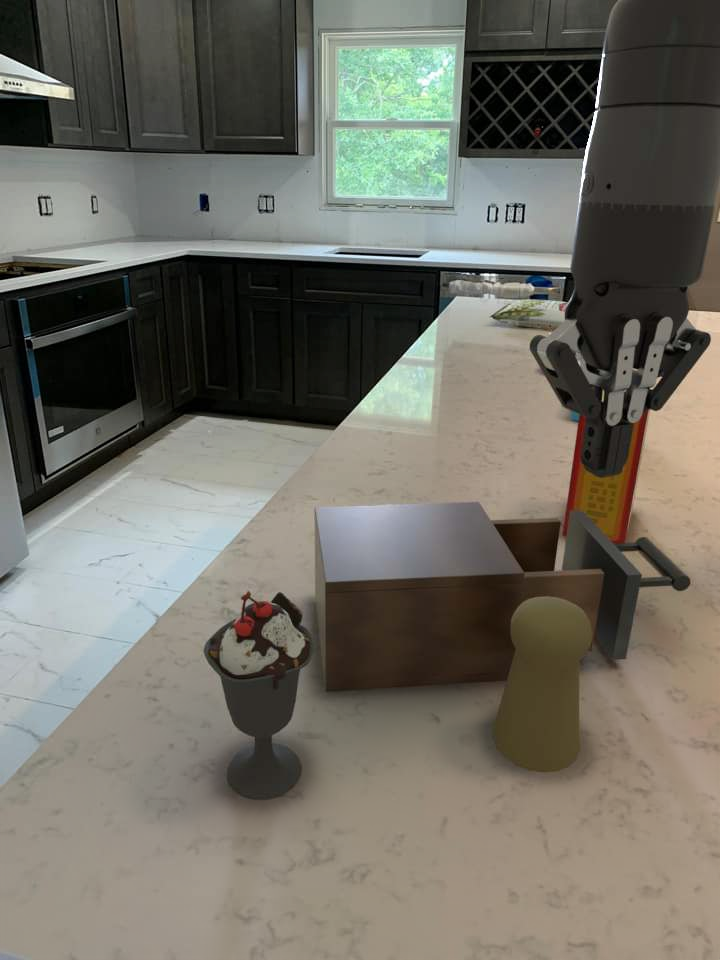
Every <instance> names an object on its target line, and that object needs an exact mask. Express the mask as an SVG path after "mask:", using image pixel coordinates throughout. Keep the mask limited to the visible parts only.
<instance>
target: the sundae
mask: <svg viewBox="0 0 720 960" xmlns="http://www.w3.org/2000/svg"><path fill="white" fill-rule="evenodd" d="M251 595H252V593H251V591H249V590H247V591H246V593H245V594H243V595H242V596H241V597H240V600H242V607H241V611H240V613H239V614H238V615H237V617H236V618H235V619H232V620H231V621H228V622H227V623H225V624H224V625H223V626H221V627H220V628H219V629H218V630H217V631H216V632H214V634H212V636H210V638H209V639H207V641H206V642H205V644H204V648H203V654H204V657H205V659H206V662H207V663H208V664H209V666H210V668H212V669H213V671H214V672H215V673H216V674H217V675H218V676H219V677H220V681H221V686H222V690H223V695H224V699H225V703H226V707H227V710H228V713H229V716H230V718H231V721H232V723H233V725H234V727H235V728H236V729H237V730H238V731H240V732H241V733H243V734H244V735H246V736H249V737H252V738H253V739H254V745H251V746H248V747H246V748H244V749H242V750H240V751H239V752H238V753H236V755H234V757H233V758H232V759H231V761H230V762H229V763H228V766H227V770H226V779H227V783H228V784H229V786H230V788H231V789H232V790H233V791H234V792H236V794H238V795H240V796H242V797H244V798H246V799H247V798H248V799H251V800H260V801H261V800H271V799H274V798H278V797H280V796H282V795H285V794H286V793H288V792H289V791H291V790H292V789H293V788H294V787H295V786H296V785H297V783H298V782H299V780H300V778H301V776H302V769H303V768H302V767H303V766H302V762H301V760H300V757H299V756H298V755H297V753H296V752H294V751H293V749H291V748H289V746H285V745H283V744H280V743H276V742H273V736H274V735H276V734H278V733H279V732H280V731H282V730H283V729H284V728H286V727H287V726H288V725H289V723H290V722H291V721H292V718H293V714H294V710H295V707H296V701H297V694H298V687H299V678H300V674H301V670H302V669H304V668H305V667H306V666H308V664H309V663H310V662H311V659H312V656H313V654H314V638H313V635H312V634H311V632H310V630H308V628H307V627H306V626H304V625H302V624H301V623H302V621H303V614H304V613H303V611H302V610H301V609H300V608H299V607H298V606H297V605H296V604H295V603H294V602H293V601H292V600H291V599H289V598H288V597H287V596H286V595H285V594H284V593H283V592H281V591H279V592H277V593H276V594H275V595H274V597H273V598H272V600H271V601H268V600H267V601H266V600H259V601H257V600H255V599H254V598H252V597H251ZM248 600H250V601H251V602H252V603H249V604H248V605H246V604H247V603H246V602H247V601H248Z"/></svg>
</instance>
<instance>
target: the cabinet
mask: <svg viewBox="0 0 720 960" xmlns="http://www.w3.org/2000/svg"><path fill="white" fill-rule="evenodd" d="M491 520H492V519H491V518H490V517H489V515H488V514H487V512H486V511H485V509H484V508H483V506H482V504H481V503H480V501H464V502H461V501H460V502H459V501H458V502H434V503H406V504H404V503H403V504H377V505H373V504H372V505H349V506H346V505H345V506H322V507H321V506H319V507H318V506H317V507H314V596H315V597H314V603H315V613H316V622H317V629H318V639H319V647H320V656H321V666H322V674H323V683H324V692H325V693H333V692H334V693H336V692H349V691H351V692H352V691H364V690H380V689H382V690H383V689H398V688H409V687H410V688H413V687H415V688H416V687H429V686H444V685H445V686H446V685H458V684H459V685H461V684H475V683H476V684H477V683H490V682H491V683H492V682H493V683H494V682H505V681H506V682H507V679H508V675H509V671H510V668H511V664H512V661H513V657H514V654H515V650H516V648H515V646H514V644H513V642H512V639H511V619H512V617H513V614H514V612H515V611H516V609H517V608H518V607H519V606H520V605H521V601H522V592H523V583H524V574H525V573H524V572H523V570H522V568H521V567H520V565H519V564H518V562H517V561H516V559H515V557H514V556H513V554H512V553H511V551H510V550H509V548H508V547H507V545H506V543H505V542H504V540H503V539H502V537H501V536H500V534H499V533H498V531H497V529H496V528H495V526H494V525H493V523H492V522H491Z"/></svg>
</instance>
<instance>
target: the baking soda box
mask: <svg viewBox="0 0 720 960" xmlns="http://www.w3.org/2000/svg"><path fill="white" fill-rule="evenodd" d="M654 387H655V385H654V386H653V387H652V388H649V389H652V390H653V389H654ZM625 391H626V390H625ZM603 399H604V391H603V395H602V401H603ZM650 413H651V409H650V410H648V411H646V412H644V413H642V416H641V418H640V419H639V420H638V421H637V422H635V423H634V426H633V432H632V438H631V444H630V449H629V455H628V459H627V461H626V463H625V465H624V466H623V469H622V473H621V474H620V475H615V476H609V477H603V478H599V477H598V476H596V475H594V474H592V473H590V472H588V471H587V470H586V469H585V468H584V465H583V464H582V463H581V458H580V454H581V449H582V448H581V447H582V443H583V442H582V440H583V434H584V427H585V418H584V416H582V415H580V414H579V421H577V429H576V435H575V444H574V450H573V457H572V465H571V471H570V480H569V486H568V494H567V501H566V508H565V515H564V521H563V529H562V536H563V537H564V536H565V537H567V530H568V522H569V515H570V511H579V510H582V511H583V512H584V513H585V514H586V515H587V516H588V517H589V518H590V519H591V520H592V521H593V522H594V523H595V524H596V526H597V527H598V528H599V529H600V530H601V531H602V532H603V533H604V534H605V535H606V536H607V537H608V538H609V540H610V541H611V542H612V543H626V540H627V536H628V532H629V527H630V523H631V519H632V514H633V508H634V503H635V497H636V493H637V486H638V480H639V474H640V470H641V464H642V458H643V451H644V447H645V441H646V435H647V431H648V430H647V429H648V423H649V418H650V415H651V414H650Z"/></svg>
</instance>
